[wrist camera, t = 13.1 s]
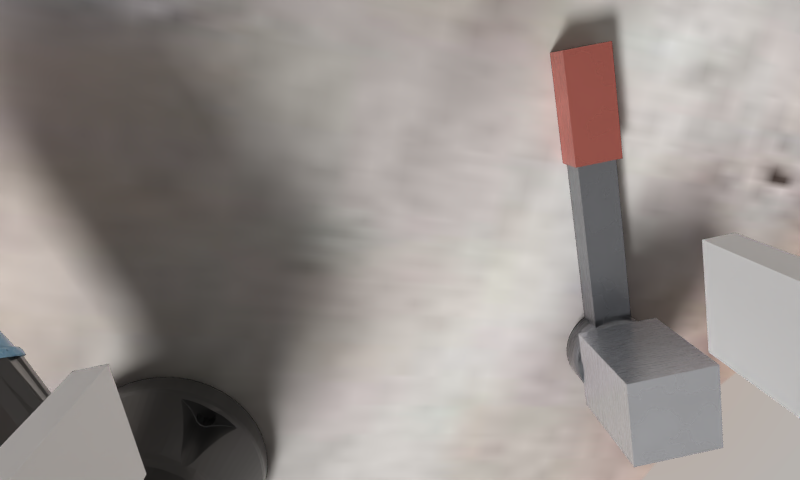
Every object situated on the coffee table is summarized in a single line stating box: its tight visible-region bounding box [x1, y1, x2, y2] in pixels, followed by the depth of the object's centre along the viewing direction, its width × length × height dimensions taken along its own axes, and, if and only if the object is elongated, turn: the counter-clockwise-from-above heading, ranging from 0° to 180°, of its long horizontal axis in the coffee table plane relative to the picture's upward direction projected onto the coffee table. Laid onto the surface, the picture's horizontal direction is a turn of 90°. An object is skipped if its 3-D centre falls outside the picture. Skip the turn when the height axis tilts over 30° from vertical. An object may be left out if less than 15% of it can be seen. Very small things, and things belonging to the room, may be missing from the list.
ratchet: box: [550, 41, 637, 383], centre depth 43 cm, size 6×27×8 cm, turn 11°
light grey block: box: [579, 318, 723, 467], centre depth 42 cm, size 6×6×8 cm
